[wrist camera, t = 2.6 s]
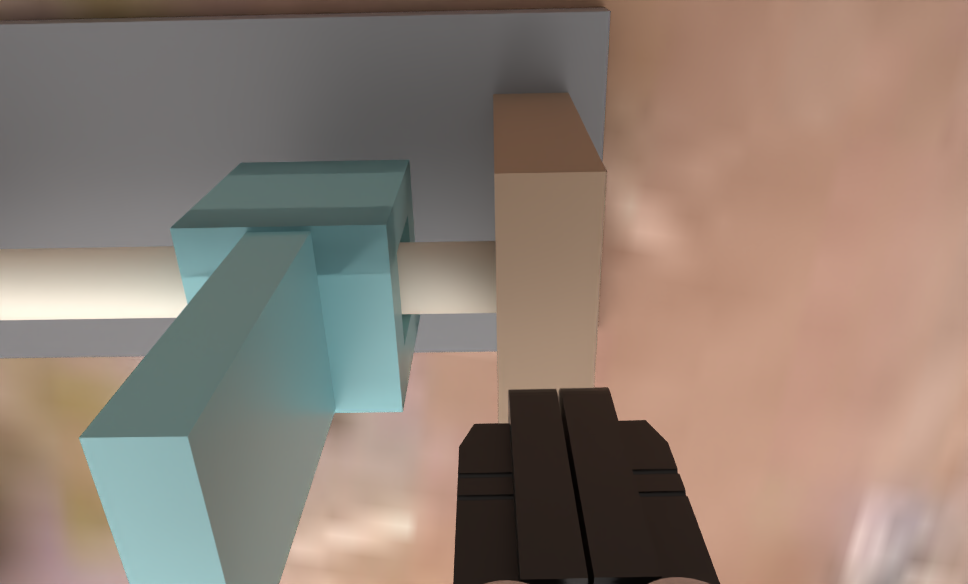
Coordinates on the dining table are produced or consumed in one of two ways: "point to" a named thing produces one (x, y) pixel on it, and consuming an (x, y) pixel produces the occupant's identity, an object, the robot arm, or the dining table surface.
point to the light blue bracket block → (256, 368)
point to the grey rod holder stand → (310, 137)
